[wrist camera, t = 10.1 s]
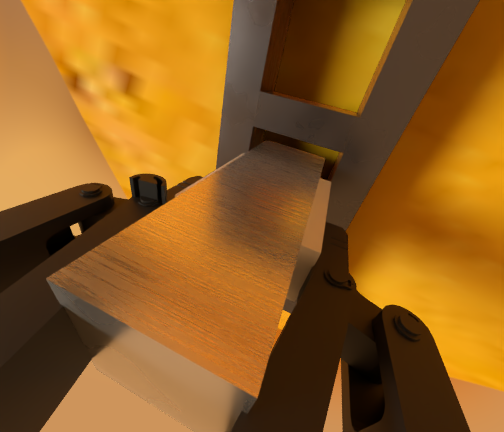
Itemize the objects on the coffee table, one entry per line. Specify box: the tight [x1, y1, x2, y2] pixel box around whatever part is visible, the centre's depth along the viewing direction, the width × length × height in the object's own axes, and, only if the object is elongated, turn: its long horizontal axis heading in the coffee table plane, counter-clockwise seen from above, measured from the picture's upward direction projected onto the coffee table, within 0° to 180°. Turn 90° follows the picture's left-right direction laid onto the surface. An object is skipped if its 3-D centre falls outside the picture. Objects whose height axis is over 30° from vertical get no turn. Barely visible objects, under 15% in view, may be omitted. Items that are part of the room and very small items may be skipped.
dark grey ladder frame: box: [216, 0, 480, 313], centre depth 15 cm, size 25×10×3 cm, turn 166°
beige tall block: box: [46, 140, 325, 432], centre depth 10 cm, size 4×4×13 cm
